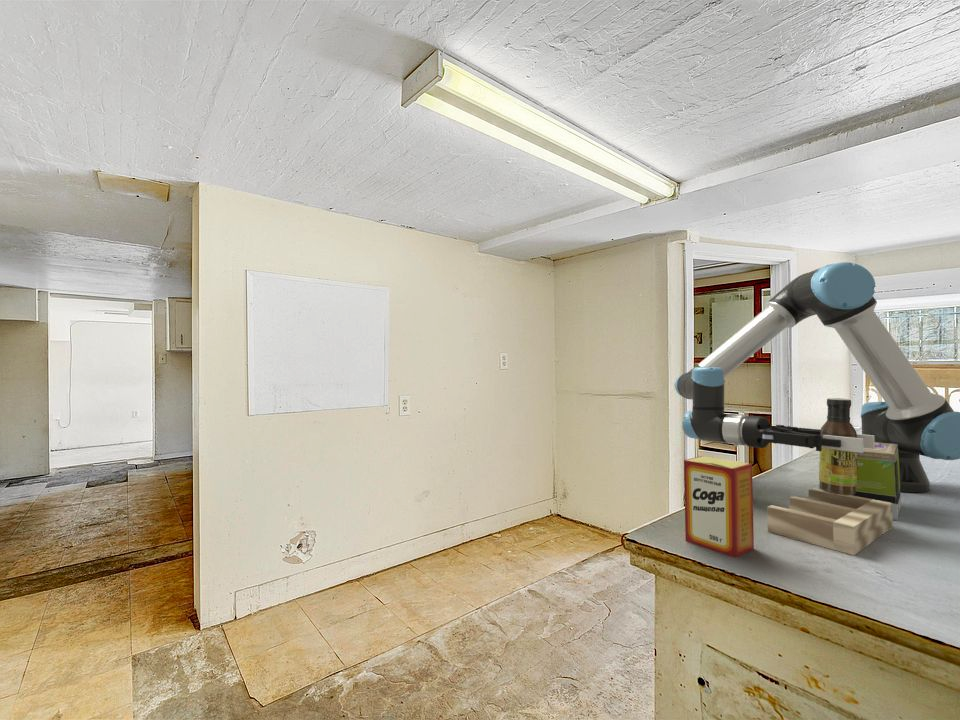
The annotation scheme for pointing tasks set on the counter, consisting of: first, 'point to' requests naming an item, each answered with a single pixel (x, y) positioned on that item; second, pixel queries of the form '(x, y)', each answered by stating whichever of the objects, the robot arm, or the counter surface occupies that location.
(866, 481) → the tea box
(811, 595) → the counter surface
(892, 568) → the counter surface
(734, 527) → the baking soda box
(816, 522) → the comb rack
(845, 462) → the sauce bottle
